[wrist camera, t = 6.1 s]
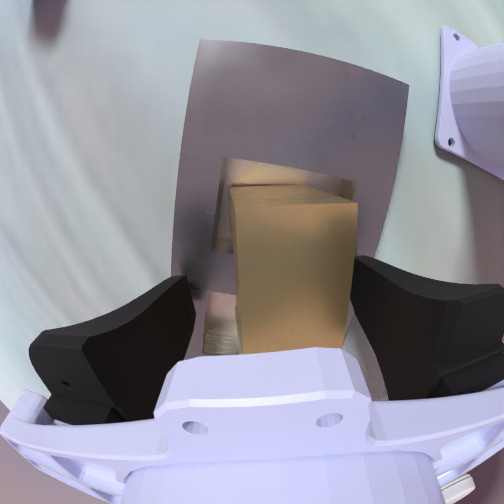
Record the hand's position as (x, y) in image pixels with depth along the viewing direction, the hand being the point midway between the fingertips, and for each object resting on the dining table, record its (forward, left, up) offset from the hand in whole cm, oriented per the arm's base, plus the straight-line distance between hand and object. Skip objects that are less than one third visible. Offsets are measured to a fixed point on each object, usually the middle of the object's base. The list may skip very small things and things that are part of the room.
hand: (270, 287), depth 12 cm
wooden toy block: (0, 0, -2) cm, 2 cm away
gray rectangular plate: (0, 0, -3) cm, 3 cm away
